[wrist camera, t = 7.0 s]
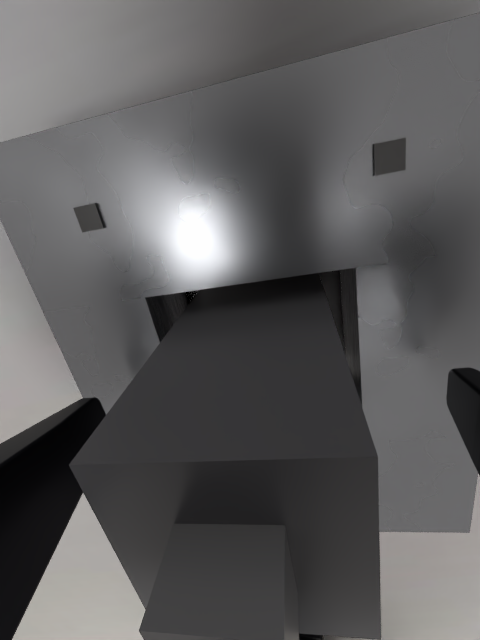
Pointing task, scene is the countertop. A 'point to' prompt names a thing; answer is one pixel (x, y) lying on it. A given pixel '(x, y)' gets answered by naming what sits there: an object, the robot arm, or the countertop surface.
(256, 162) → the socket plate
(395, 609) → the countertop surface
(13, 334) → the countertop surface
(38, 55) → the countertop surface
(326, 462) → the plug
